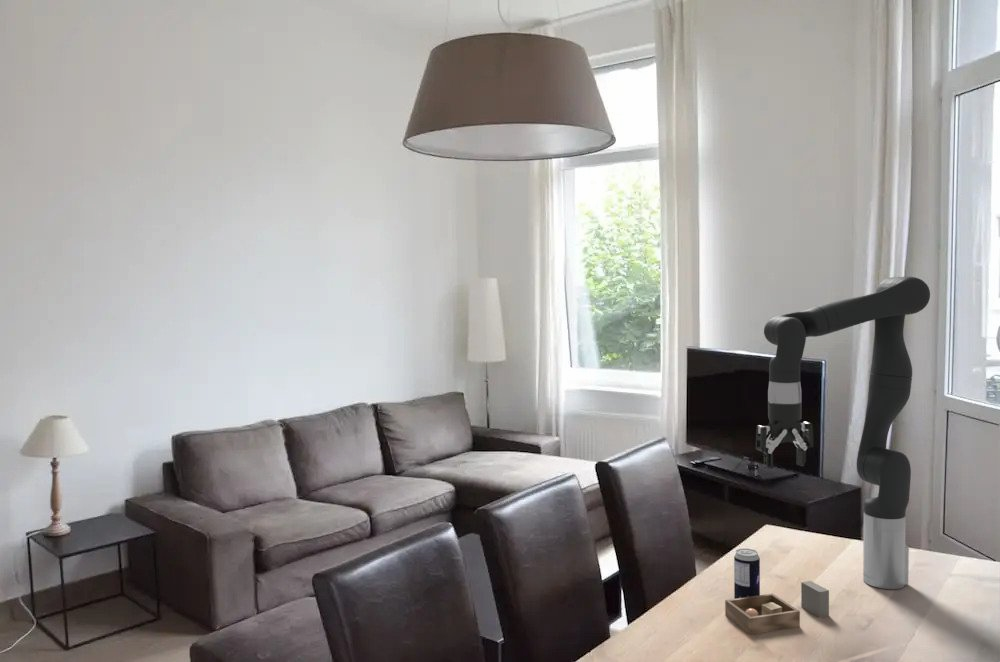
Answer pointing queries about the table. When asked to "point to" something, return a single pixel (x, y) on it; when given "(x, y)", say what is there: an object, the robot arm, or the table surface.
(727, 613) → the box
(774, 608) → the maple cube
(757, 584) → the beverage can
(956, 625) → the table surface
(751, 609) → the terracotta ball
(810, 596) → the lid
